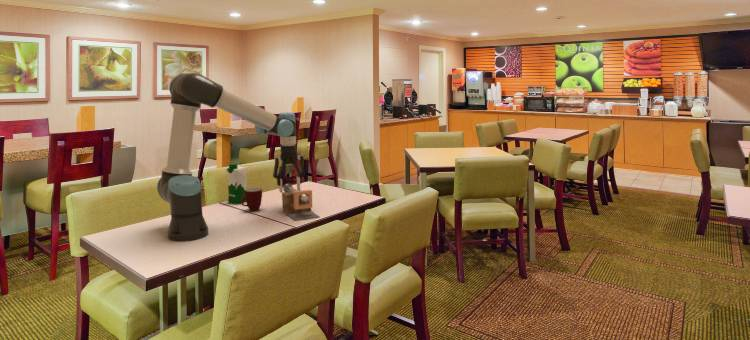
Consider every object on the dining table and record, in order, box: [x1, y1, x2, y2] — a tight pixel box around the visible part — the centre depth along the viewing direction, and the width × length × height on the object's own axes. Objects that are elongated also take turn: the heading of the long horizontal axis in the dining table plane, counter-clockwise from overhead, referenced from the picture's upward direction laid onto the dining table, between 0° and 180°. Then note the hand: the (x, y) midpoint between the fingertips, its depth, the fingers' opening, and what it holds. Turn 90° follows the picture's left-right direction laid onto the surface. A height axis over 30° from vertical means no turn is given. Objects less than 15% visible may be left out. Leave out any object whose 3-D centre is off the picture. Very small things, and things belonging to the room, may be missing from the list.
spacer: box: [293, 189, 313, 210], centre depth 215 cm, size 8×2×8 cm, turn 118°
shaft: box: [282, 183, 309, 202], centre depth 222 cm, size 26×5×5 cm, turn 29°
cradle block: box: [281, 189, 312, 216], centre depth 223 cm, size 12×6×10 cm, turn 118°
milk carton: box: [225, 163, 248, 205], centre depth 241 cm, size 9×9×20 cm
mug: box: [241, 187, 263, 212], centre depth 226 cm, size 11×8×10 cm
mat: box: [286, 210, 321, 222], centre depth 217 cm, size 12×11×1 cm
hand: (289, 190), depth 231 cm, fingers open, 8 cm apart
